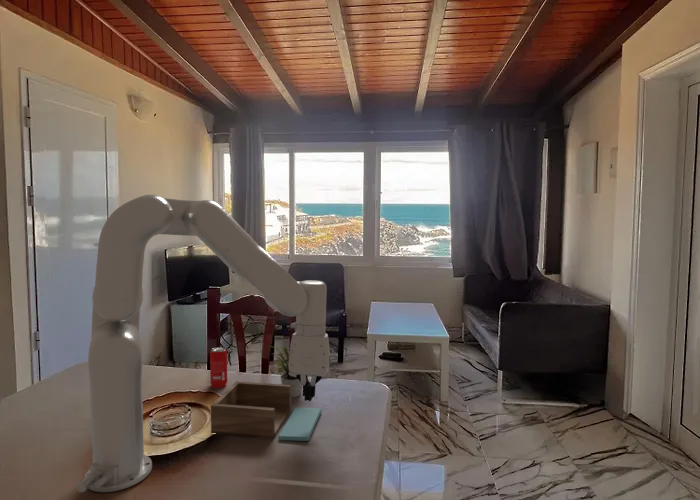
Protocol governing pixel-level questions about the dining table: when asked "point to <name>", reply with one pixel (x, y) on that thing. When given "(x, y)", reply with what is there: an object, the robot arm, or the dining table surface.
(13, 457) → the dining table surface
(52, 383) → the dining table surface
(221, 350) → the beverage can
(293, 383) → the house plant
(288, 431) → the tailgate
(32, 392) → the dining table surface
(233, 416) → the crate
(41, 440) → the dining table surface
